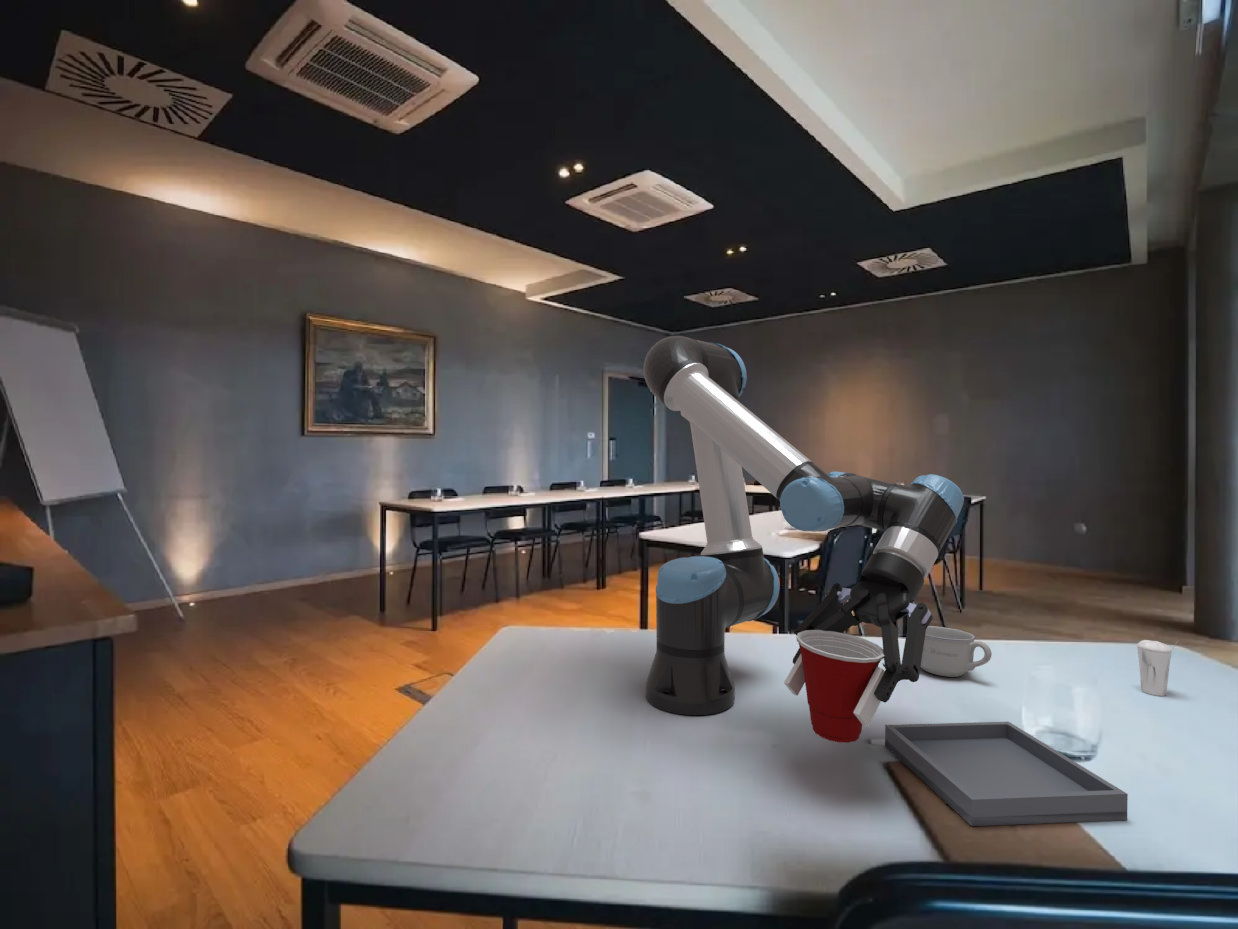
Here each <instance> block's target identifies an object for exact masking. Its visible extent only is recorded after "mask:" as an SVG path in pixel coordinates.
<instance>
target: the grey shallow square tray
mask: <svg viewBox="0 0 1238 929" xmlns="http://www.w3.org/2000/svg"><path fill="white" fill-rule="evenodd" d="M884 728H885V729H884V731H885V732H884V733H885V734H884V744H885V745H884V746H885V747H886V748H887V749H888V750H889V751H890V752H891V753H892V754H893V755H894V756H896V757H897V759H899V761H901V763H903V764H904V765H905V766H906V767H907V768H909V770H910V771H911V772H913V774H915V775H916V776H917V777H918V778H919V779H920V780H921V781H923V783H925V785H927V786H928V787H929V788H930V789H931V790H932V791H933V792H934V793H935V794H936V795H938V797H939V798H941V799H942V800H943V801H944V802H945V803H946V804H947V805H948V806H949V807H950V808H951V809H952V810H953V811H954V812H956V814H958V815H959V816H960V817H961V818H962V819H963V820H964V821H965V822H967V823H968V825H969V826H971V827H988V826H1011V825H1012V826H1014V825H1037V824H1060V823H1062V824H1063V823H1081V822H1082V823H1087V822H1089V823H1090V822H1111V821H1128V801H1129V800H1128V797H1129V796H1128V793H1127V792H1125V791H1123V790H1122V789H1120V788H1119V787H1118V786H1116V785H1114V784H1112V783H1111V782H1110V781H1107V780H1106V779H1104V778H1102V777H1100V776H1099V775H1098V774H1095V773H1094V772H1092V771H1091V770H1089V769H1087V768H1086V767H1084V766H1083V765H1080V764H1079V763H1077V761H1074V760H1072V759H1071V758H1069V757H1067V756H1066V755H1064V754H1063V753H1061V752H1060V751H1057V750H1056V749H1054V748H1053V747H1051V746H1050V745H1048V744H1046V743H1044V741H1043V742H1042V741H1041V740H1039V739H1038V738H1036V737H1035V736H1034V735H1032V734H1029V733H1028V732H1026V731H1025V730H1023V729H1022V728H1019V727H1018V726H1017V725H1015V724H1013V723H1012V722H1010V721H982V722H981V721H979V722H976V721H975V722H946V723H945V722H944V723H943V722H941V723H938V722H937V723H912V724H910V723H909V724H908V723H907V724H906V723H905V724H885V725H884Z"/></svg>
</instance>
